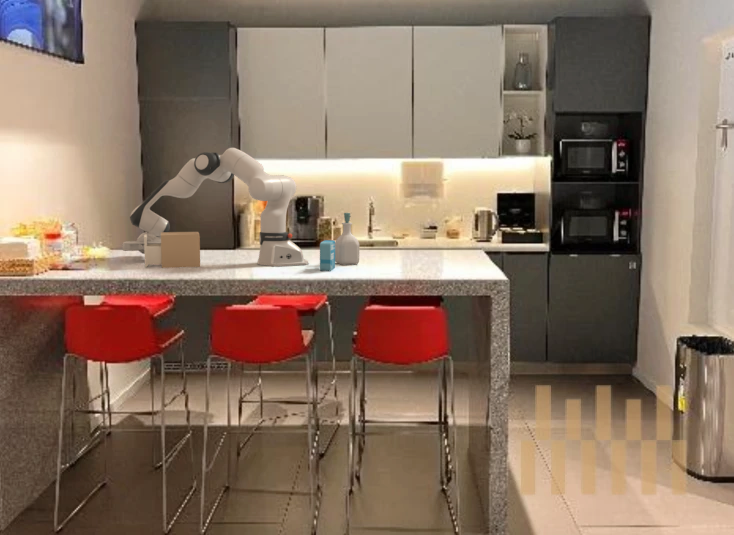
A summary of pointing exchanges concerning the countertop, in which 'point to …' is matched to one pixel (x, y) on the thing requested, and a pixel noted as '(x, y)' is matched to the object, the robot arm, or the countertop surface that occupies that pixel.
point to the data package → (327, 255)
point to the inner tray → (152, 253)
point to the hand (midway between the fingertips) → (145, 247)
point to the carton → (180, 249)
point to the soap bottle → (347, 245)
